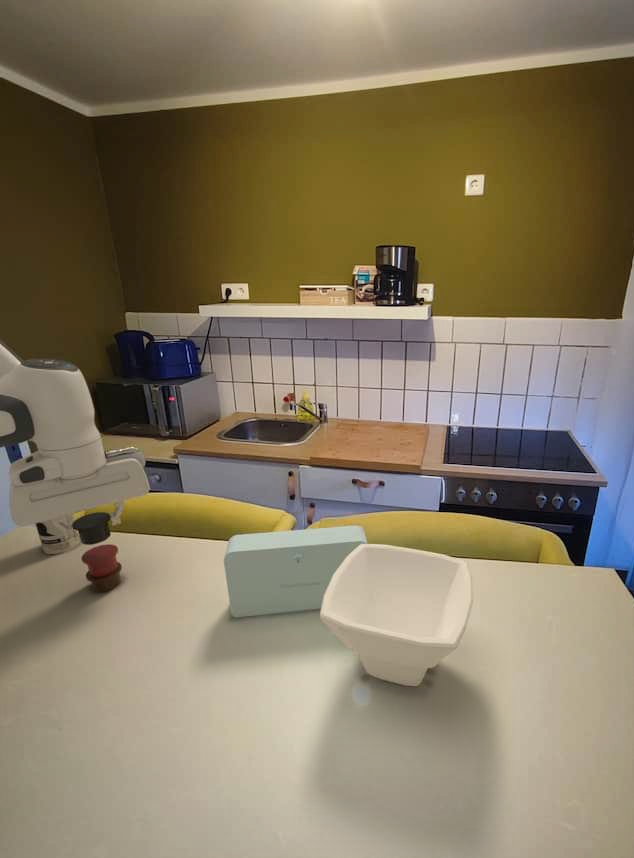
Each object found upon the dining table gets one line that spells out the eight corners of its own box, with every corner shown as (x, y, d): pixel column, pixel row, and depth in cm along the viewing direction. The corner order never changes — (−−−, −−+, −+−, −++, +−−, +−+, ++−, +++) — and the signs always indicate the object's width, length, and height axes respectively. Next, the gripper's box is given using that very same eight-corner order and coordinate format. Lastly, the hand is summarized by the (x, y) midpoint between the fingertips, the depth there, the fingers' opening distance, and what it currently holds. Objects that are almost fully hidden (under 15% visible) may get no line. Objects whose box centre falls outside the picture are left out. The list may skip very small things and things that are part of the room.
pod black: (78, 550, 73) (73, 532, 72) (75, 536, 77) (70, 518, 76) (116, 539, 76) (112, 521, 75) (111, 525, 80) (107, 509, 79)
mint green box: (231, 623, 71) (221, 555, 66) (236, 600, 76) (227, 535, 72) (369, 609, 74) (369, 543, 69) (364, 587, 79) (364, 524, 75)
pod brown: (92, 601, 77) (87, 584, 75) (88, 584, 81) (84, 568, 80) (127, 588, 80) (123, 572, 79) (122, 573, 84) (118, 557, 83)
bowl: (355, 607, 74) (354, 538, 69) (469, 632, 69) (477, 558, 64) (311, 700, 58) (306, 617, 53) (458, 742, 52) (467, 655, 47)
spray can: (36, 553, 91) (8, 466, 84) (65, 536, 97) (42, 454, 90) (59, 558, 89) (33, 470, 82) (88, 541, 95) (65, 457, 88)
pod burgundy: (87, 583, 76) (82, 566, 74) (84, 567, 80) (79, 551, 79) (124, 571, 79) (120, 554, 77) (119, 556, 83) (115, 540, 82)
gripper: (138, 439, 79) (152, 506, 84) (-2, 466, 68) (23, 541, 73) (145, 449, 75) (159, 518, 79) (-4, 479, 63) (23, 558, 68)
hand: (93, 529), depth 76 cm, fingers closed on pod black, 6 cm apart
